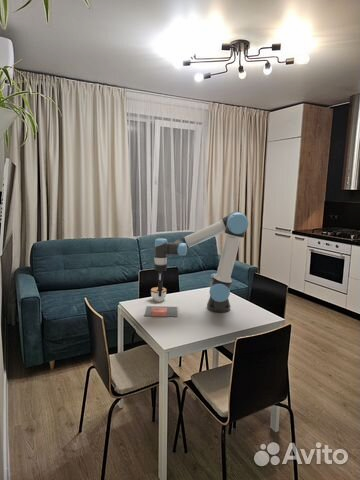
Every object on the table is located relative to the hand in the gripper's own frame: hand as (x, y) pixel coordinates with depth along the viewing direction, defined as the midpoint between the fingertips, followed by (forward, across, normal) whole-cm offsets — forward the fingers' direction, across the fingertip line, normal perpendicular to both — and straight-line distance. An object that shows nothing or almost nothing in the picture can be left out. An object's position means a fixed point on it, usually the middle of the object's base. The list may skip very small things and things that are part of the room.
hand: (160, 300), depth 202 cm
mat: (+7, 0, +1) cm, 7 cm away
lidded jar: (+8, -22, -2) cm, 24 cm away
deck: (+6, 0, 0) cm, 6 cm away
